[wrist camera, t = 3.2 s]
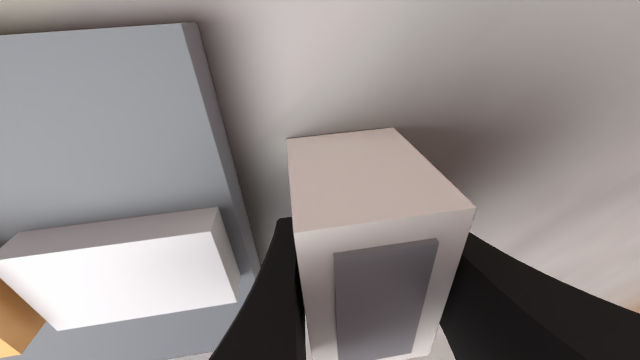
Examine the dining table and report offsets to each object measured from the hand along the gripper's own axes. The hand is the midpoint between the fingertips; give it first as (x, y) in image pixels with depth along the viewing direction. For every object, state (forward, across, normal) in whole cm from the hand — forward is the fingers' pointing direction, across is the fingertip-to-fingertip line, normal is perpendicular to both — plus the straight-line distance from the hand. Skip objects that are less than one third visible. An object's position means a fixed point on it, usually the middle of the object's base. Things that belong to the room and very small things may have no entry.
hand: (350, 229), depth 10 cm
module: (+2, 0, 0) cm, 2 cm away
